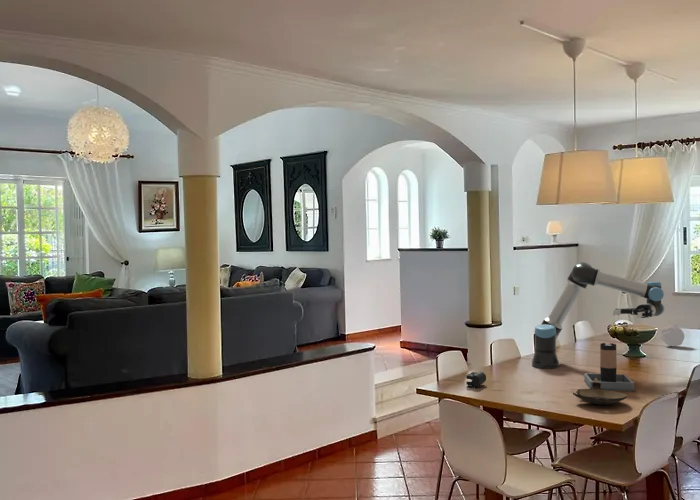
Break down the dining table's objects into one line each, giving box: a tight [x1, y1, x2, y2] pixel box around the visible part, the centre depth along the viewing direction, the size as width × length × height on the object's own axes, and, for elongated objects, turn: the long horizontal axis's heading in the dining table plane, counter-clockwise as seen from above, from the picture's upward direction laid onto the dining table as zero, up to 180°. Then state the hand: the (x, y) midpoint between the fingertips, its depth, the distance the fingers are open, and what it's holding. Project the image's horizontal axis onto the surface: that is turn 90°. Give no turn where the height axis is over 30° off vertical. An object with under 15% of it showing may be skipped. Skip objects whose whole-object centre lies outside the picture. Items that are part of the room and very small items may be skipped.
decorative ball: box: [659, 323, 685, 347], centre depth 429 cm, size 15×13×15 cm
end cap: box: [465, 371, 487, 389], centre depth 325 cm, size 10×7×7 cm
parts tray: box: [583, 372, 635, 392], centre depth 321 cm, size 20×20×4 cm
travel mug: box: [599, 342, 618, 382], centre depth 321 cm, size 8×8×20 cm
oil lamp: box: [572, 378, 627, 406], centre depth 291 cm, size 22×30×8 cm
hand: (625, 313), depth 343 cm, fingers open, 13 cm apart
